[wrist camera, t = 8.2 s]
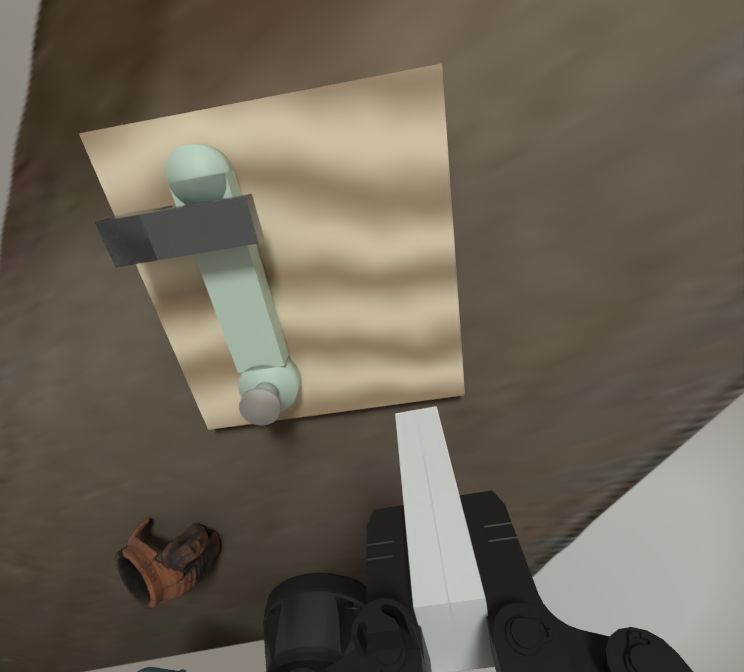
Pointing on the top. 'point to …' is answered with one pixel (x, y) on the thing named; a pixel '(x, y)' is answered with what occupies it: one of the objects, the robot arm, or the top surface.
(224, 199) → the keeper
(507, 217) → the top surface
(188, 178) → the link
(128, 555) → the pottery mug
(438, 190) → the base board
